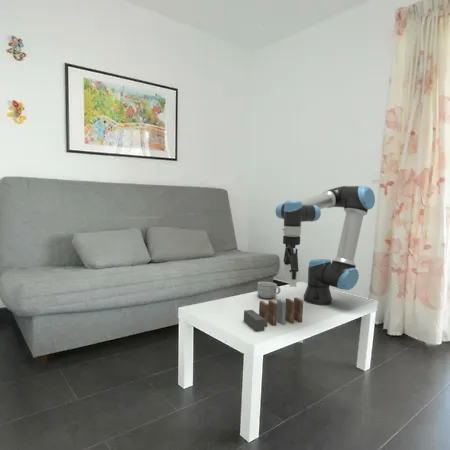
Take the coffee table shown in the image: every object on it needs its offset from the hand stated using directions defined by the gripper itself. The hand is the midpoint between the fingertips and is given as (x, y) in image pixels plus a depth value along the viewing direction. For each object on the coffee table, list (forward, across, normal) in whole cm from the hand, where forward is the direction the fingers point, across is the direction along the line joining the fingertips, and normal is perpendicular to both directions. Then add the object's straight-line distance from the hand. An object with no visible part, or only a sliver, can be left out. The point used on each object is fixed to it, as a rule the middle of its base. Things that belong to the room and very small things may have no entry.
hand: (289, 282), depth 151 cm
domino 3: (+18, +2, -4) cm, 19 cm away
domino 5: (+18, -2, +5) cm, 19 cm away
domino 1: (+18, +5, -12) cm, 22 cm away
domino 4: (+18, 0, 0) cm, 18 cm away
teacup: (+19, -35, -4) cm, 40 cm away
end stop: (+18, +6, -16) cm, 25 cm away
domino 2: (+18, +3, -8) cm, 20 cm away
